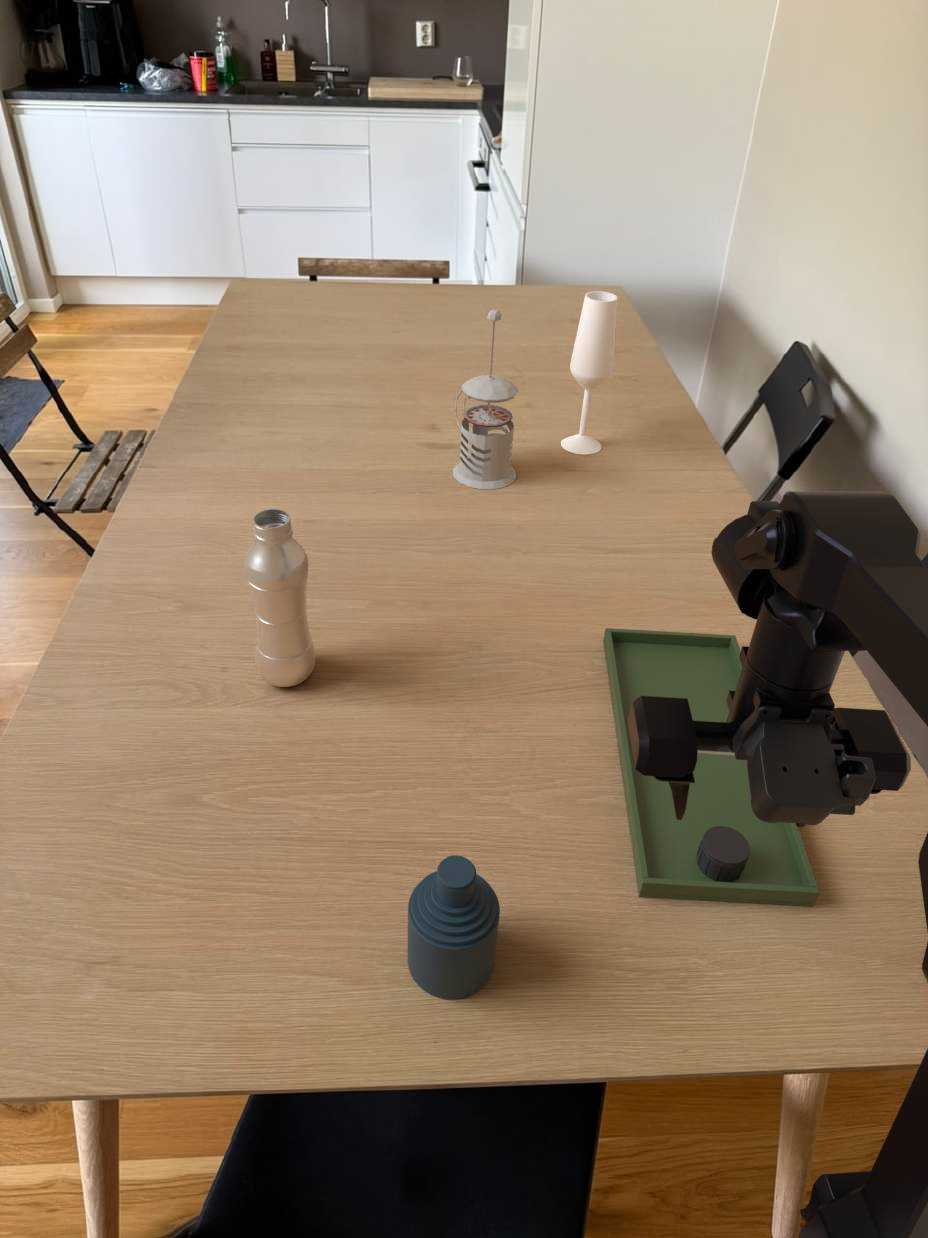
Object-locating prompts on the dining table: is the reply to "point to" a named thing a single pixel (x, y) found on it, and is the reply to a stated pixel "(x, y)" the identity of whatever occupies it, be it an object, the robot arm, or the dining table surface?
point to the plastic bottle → (279, 600)
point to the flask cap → (722, 854)
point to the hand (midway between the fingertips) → (737, 819)
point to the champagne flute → (592, 360)
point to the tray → (696, 778)
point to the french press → (486, 430)
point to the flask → (452, 930)
